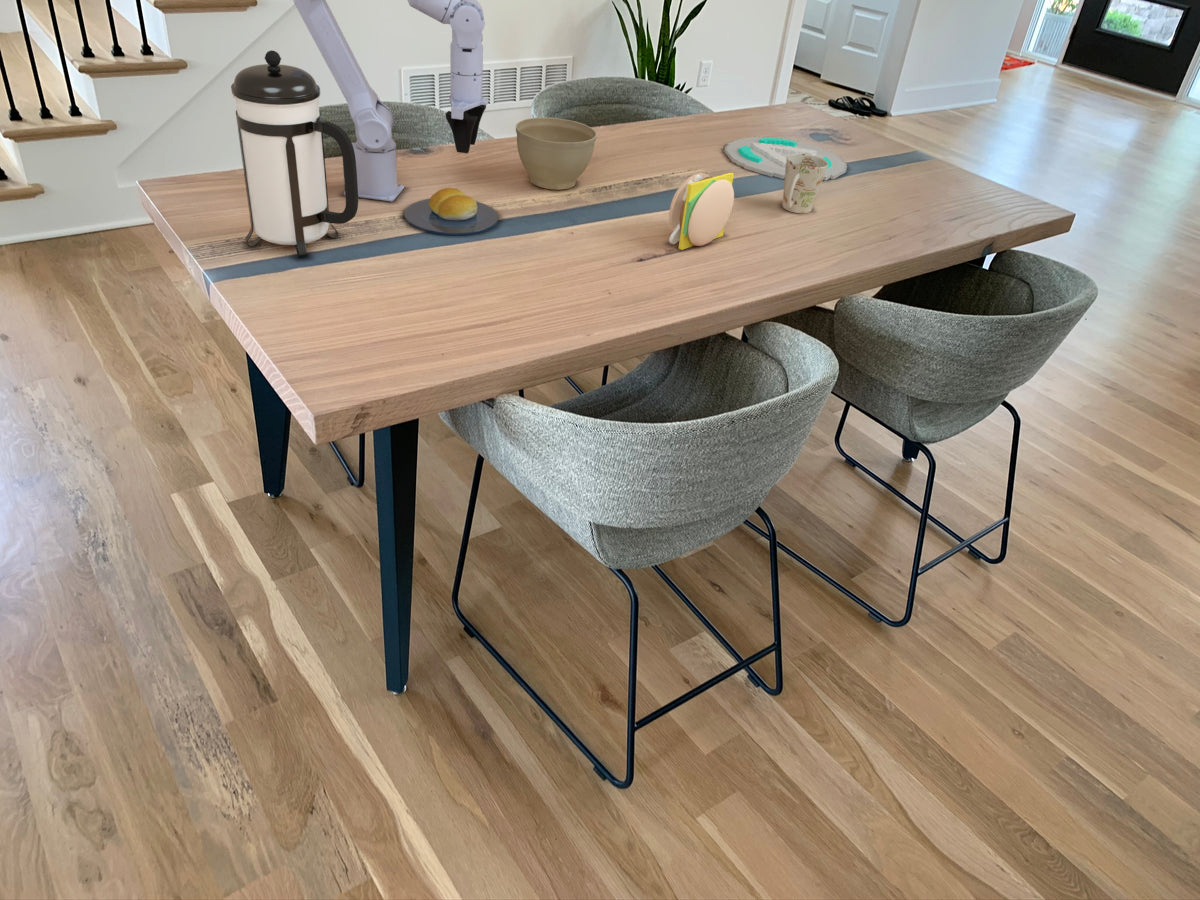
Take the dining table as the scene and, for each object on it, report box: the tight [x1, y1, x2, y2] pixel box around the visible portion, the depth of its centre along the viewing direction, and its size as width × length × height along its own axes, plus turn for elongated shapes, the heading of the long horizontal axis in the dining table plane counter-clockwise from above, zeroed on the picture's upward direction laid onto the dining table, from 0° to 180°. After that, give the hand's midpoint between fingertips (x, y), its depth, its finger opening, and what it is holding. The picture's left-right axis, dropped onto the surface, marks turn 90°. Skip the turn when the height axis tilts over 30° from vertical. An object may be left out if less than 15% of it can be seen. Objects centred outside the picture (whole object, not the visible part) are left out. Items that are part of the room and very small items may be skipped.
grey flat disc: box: [723, 136, 848, 182], centre depth 212 cm, size 28×28×2 cm
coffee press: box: [230, 50, 359, 259], centre depth 142 cm, size 17×16×30 cm
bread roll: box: [429, 187, 477, 221], centre depth 165 cm, size 8×9×4 cm
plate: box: [404, 198, 499, 237], centre depth 165 cm, size 17×17×1 cm
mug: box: [781, 154, 828, 214], centre depth 182 cm, size 8×13×10 cm, turn 155°
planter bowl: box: [515, 117, 598, 191], centre depth 182 cm, size 16×16×11 cm
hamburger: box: [668, 172, 735, 251], centre depth 165 cm, size 12×8×12 cm
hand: (466, 148), depth 169 cm, fingers open, 5 cm apart
